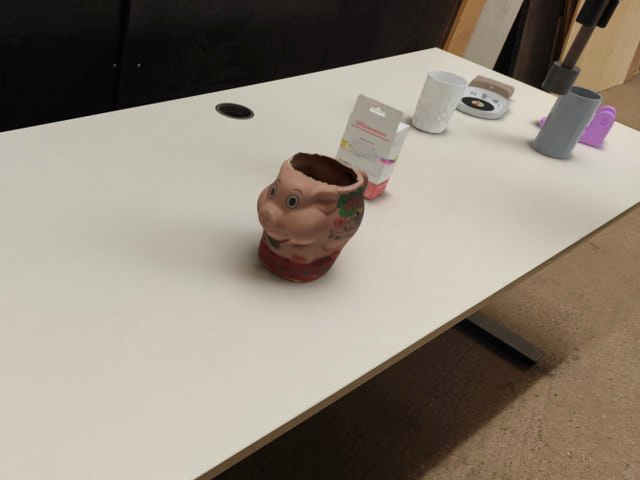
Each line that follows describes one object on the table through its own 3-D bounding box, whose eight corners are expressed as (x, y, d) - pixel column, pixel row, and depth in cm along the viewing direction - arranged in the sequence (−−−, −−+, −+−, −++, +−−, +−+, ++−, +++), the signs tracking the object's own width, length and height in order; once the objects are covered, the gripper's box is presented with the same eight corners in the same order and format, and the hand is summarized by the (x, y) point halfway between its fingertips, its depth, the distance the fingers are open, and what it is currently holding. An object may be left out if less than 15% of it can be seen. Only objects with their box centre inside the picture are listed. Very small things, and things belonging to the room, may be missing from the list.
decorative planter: (305, 219, 102) (334, 131, 93) (372, 258, 96) (411, 169, 87) (219, 259, 90) (243, 164, 81) (290, 307, 85) (324, 210, 75)
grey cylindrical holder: (576, 158, 137) (611, 100, 129) (548, 158, 135) (582, 99, 126) (552, 142, 142) (584, 85, 134) (524, 141, 140) (555, 84, 132)
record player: (521, 88, 156) (501, 110, 143) (515, 101, 158) (494, 124, 145) (473, 71, 160) (449, 92, 147) (467, 84, 162) (443, 106, 149)
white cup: (448, 126, 140) (470, 77, 133) (443, 138, 134) (466, 88, 128) (411, 114, 142) (431, 66, 135) (405, 126, 136) (425, 77, 129)
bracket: (600, 140, 147) (619, 109, 142) (598, 147, 143) (618, 116, 139) (540, 120, 151) (557, 89, 146) (537, 127, 147) (554, 95, 142)
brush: (573, 95, 113) (631, -9, 102) (553, 95, 112) (609, -11, 101) (555, 85, 116) (610, -17, 105) (535, 84, 115) (588, -19, 104)
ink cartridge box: (384, 193, 112) (420, 107, 102) (370, 201, 109) (405, 113, 100) (341, 171, 116) (372, 86, 106) (326, 179, 113) (356, 92, 103)
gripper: (643, -116, 89) (567, 30, 102) (725, -103, 94) (644, 35, 107) (601, -126, 95) (535, 14, 107) (682, -113, 99) (609, 20, 112)
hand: (590, 24), depth 107 cm, fingers closed on brush, 2 cm apart
